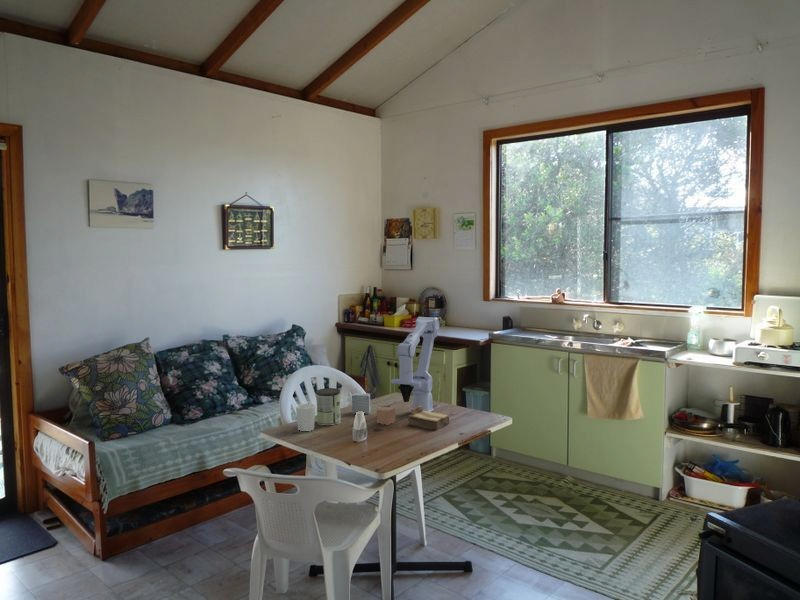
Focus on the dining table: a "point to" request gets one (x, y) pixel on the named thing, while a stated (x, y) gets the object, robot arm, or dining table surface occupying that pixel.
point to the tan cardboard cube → (386, 415)
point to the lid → (426, 414)
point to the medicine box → (361, 403)
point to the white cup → (305, 417)
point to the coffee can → (328, 406)
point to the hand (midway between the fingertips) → (406, 401)
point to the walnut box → (428, 423)
